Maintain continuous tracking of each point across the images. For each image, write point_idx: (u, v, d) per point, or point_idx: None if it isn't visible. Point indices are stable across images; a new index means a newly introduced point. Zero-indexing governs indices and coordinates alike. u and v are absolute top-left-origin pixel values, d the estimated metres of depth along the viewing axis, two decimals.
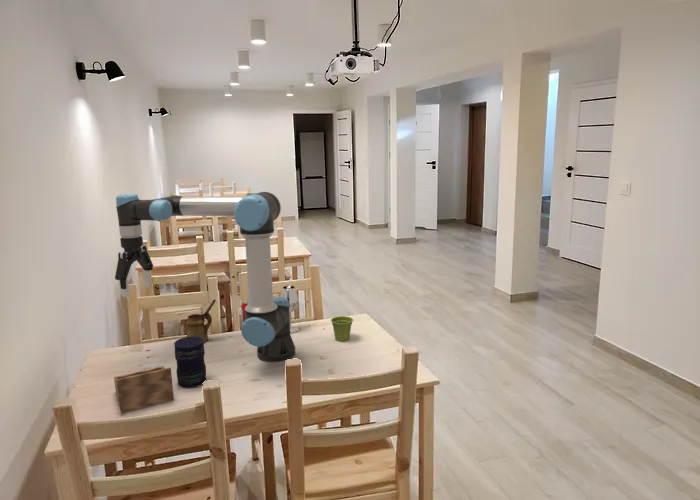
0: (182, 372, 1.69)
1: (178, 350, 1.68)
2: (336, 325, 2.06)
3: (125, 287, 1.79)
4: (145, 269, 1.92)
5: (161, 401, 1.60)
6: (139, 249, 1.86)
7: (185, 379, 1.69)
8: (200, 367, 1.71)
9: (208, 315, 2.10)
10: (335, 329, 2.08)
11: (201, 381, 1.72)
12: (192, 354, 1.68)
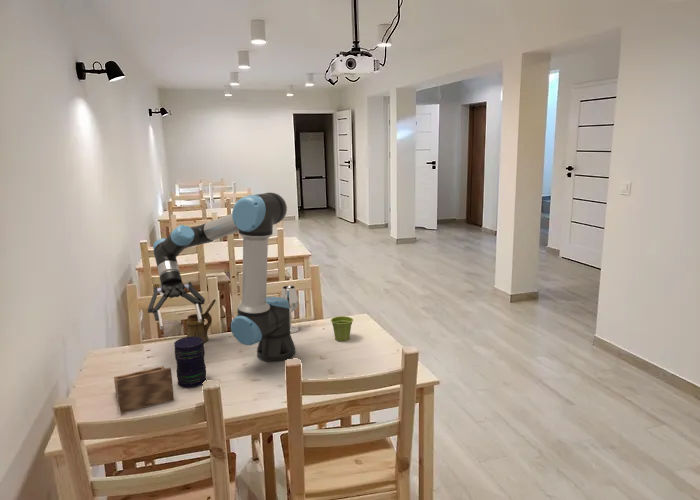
0: (182, 372, 1.69)
1: (178, 350, 1.68)
2: (336, 325, 2.06)
3: (157, 317, 1.78)
4: None
5: (161, 401, 1.60)
6: (179, 284, 1.88)
7: (185, 379, 1.69)
8: (200, 367, 1.71)
9: (208, 315, 2.10)
10: (335, 329, 2.08)
11: (201, 381, 1.72)
12: (192, 354, 1.68)
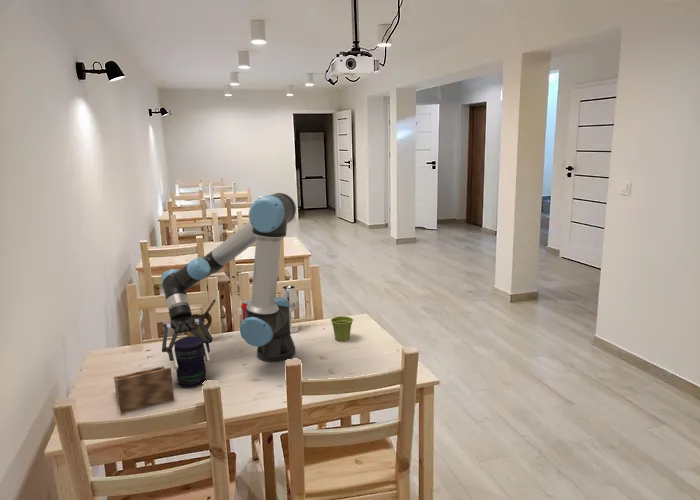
0: (182, 372, 1.69)
1: (178, 350, 1.68)
2: (336, 325, 2.06)
3: (172, 357, 1.69)
4: (204, 343, 1.77)
5: (161, 401, 1.60)
6: (189, 319, 1.79)
7: (185, 379, 1.69)
8: (200, 367, 1.71)
9: (208, 315, 2.10)
10: (335, 329, 2.08)
11: (201, 381, 1.72)
12: (192, 354, 1.68)
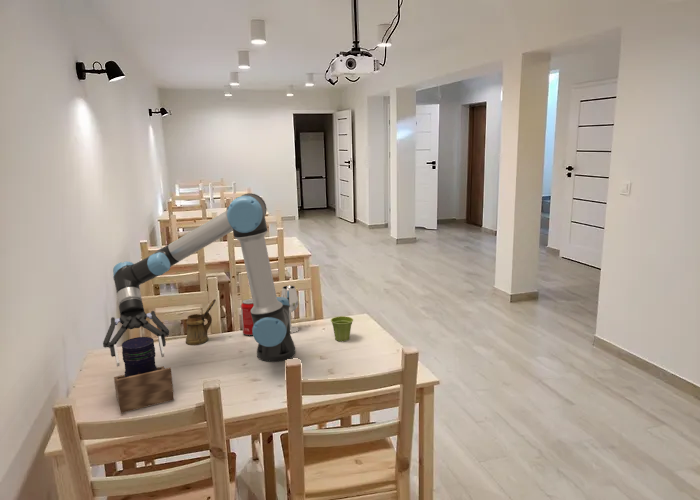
0: (130, 374, 1.59)
1: (125, 351, 1.58)
2: (336, 325, 2.06)
3: (113, 353, 1.58)
4: None
5: (161, 401, 1.60)
6: (140, 314, 1.68)
7: None
8: (150, 369, 1.61)
9: (208, 315, 2.10)
10: (335, 329, 2.08)
11: None
12: (140, 356, 1.58)
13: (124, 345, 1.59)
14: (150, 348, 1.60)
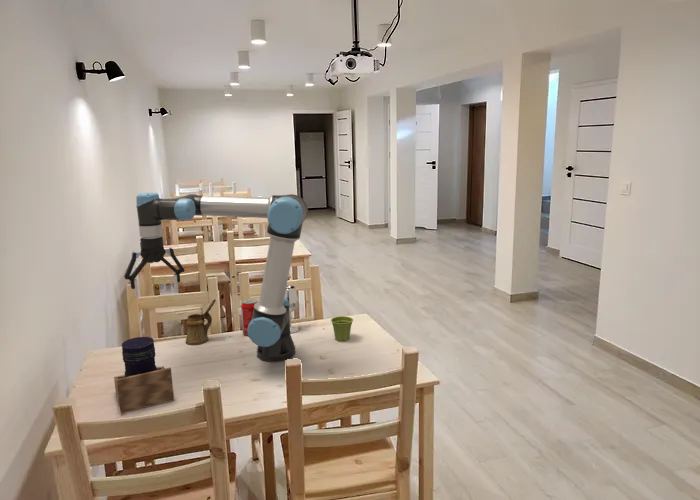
0: (130, 374, 1.59)
1: (125, 351, 1.58)
2: (336, 325, 2.06)
3: (133, 287, 1.75)
4: None
5: (161, 401, 1.60)
6: (160, 251, 1.77)
7: None
8: (150, 369, 1.61)
9: (208, 315, 2.10)
10: (335, 329, 2.08)
11: None
12: (140, 356, 1.58)
13: (124, 345, 1.59)
14: (150, 348, 1.60)
